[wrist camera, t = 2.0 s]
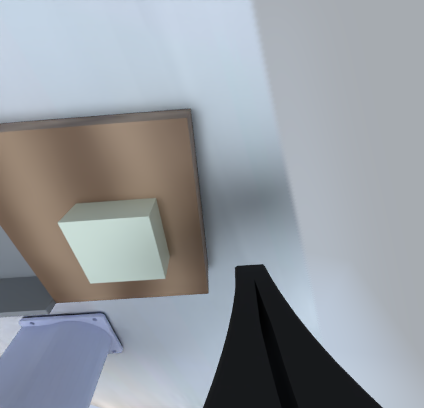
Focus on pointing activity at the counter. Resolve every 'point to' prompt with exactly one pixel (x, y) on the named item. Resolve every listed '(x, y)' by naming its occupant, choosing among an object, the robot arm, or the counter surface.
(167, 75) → the counter surface
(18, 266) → the box
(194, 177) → the plate
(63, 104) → the counter surface
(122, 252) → the tile
